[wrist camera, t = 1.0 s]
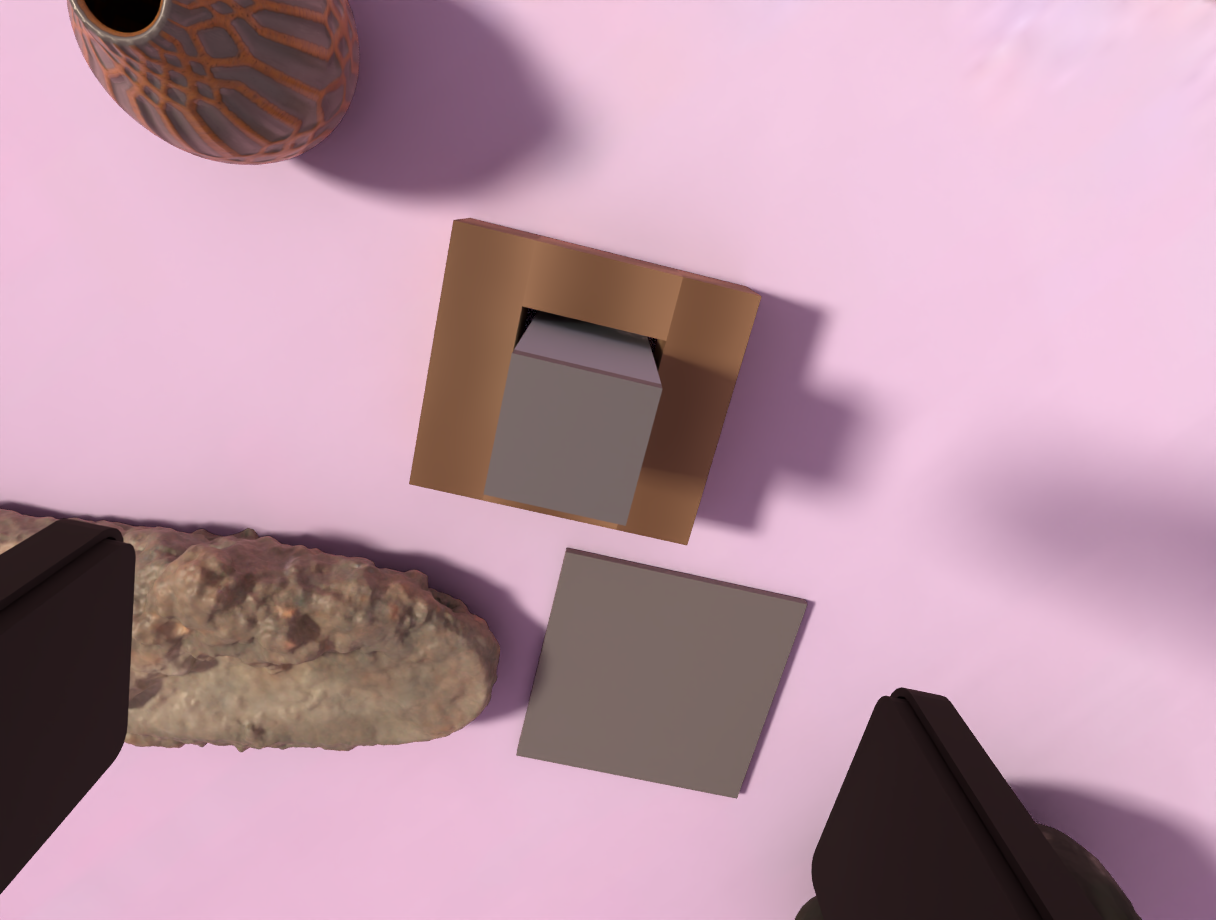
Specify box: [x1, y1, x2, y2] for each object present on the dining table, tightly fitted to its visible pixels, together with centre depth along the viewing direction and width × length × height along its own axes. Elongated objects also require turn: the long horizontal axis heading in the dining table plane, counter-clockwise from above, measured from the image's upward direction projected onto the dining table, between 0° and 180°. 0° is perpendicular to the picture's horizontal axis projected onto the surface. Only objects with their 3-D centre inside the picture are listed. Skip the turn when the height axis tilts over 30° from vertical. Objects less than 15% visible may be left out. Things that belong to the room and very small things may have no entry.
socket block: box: [409, 218, 761, 545], centre depth 27 cm, size 10×9×3 cm
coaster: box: [516, 548, 807, 798], centre depth 33 cm, size 10×10×1 cm
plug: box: [484, 310, 663, 526], centre depth 25 cm, size 4×4×8 cm
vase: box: [67, 0, 359, 165], centre depth 21 cm, size 7×7×9 cm
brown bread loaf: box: [0, 509, 500, 752], centre depth 30 cm, size 35×5×10 cm
